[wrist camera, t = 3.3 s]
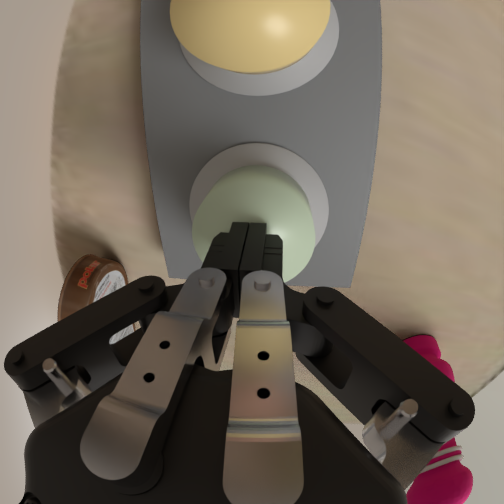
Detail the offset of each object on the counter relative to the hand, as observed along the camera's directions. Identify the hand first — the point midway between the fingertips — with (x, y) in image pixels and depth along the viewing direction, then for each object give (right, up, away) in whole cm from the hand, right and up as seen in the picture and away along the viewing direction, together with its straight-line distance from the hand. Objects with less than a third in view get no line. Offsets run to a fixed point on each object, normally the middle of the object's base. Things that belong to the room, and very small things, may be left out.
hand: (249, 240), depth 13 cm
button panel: (+1, +11, -1) cm, 11 cm away
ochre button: (0, +9, -4) cm, 10 cm away
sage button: (0, +1, +2) cm, 2 cm away
